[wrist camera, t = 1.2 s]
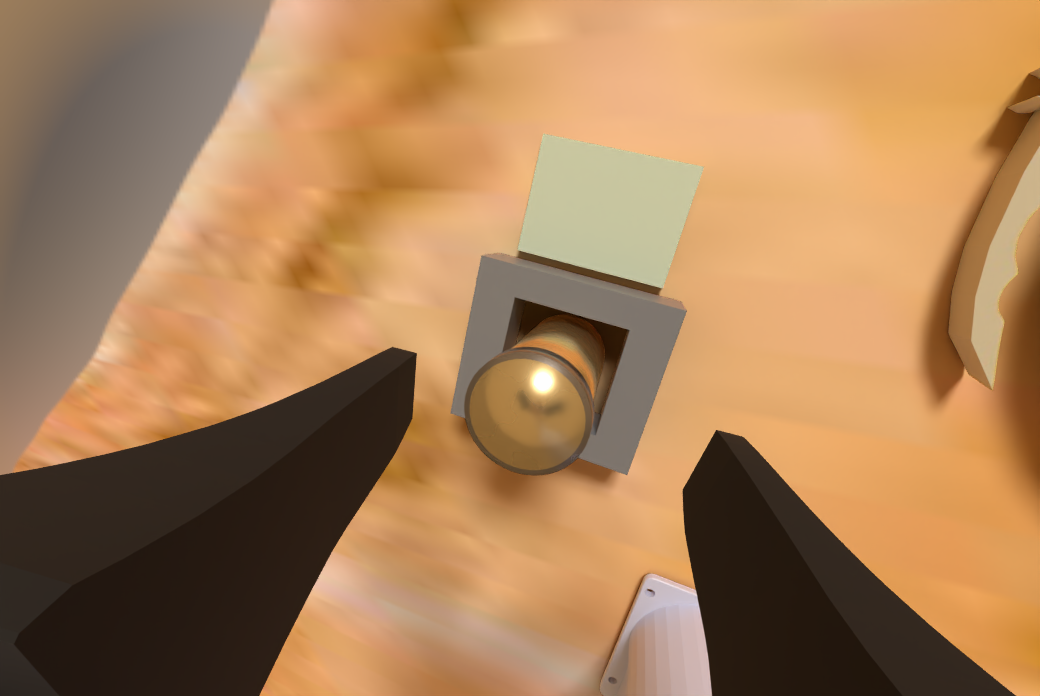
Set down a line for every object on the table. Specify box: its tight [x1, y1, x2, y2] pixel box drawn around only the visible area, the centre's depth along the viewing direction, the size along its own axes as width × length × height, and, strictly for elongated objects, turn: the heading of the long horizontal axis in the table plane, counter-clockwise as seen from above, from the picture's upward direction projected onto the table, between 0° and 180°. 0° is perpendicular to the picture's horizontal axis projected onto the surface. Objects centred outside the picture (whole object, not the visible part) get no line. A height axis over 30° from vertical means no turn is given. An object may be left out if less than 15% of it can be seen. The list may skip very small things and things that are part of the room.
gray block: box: [451, 253, 687, 475], centre depth 21 cm, size 8×9×2 cm
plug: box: [464, 314, 605, 475], centre depth 18 cm, size 4×4×8 cm
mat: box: [518, 134, 704, 288], centre depth 19 cm, size 5×7×1 cm
